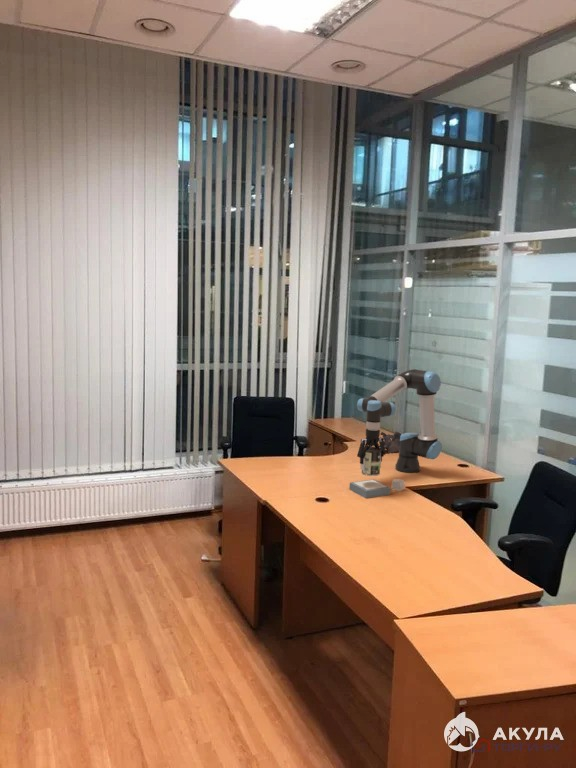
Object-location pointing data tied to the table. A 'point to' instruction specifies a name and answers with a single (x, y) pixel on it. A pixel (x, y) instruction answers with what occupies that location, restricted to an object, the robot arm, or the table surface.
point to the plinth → (369, 488)
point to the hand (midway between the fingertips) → (370, 468)
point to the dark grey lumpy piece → (391, 442)
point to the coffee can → (372, 462)
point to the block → (398, 484)
